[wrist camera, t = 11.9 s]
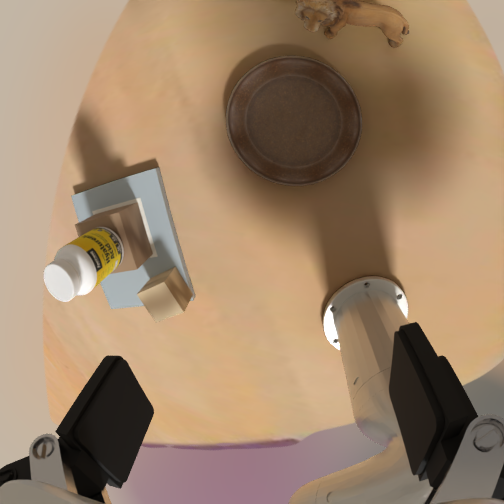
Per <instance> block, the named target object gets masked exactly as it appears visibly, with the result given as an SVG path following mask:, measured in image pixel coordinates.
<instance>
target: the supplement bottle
mask: <svg viewBox="0 0 504 504" xmlns="http://www.w3.org/2000/svg"><path fill="white" fill-rule="evenodd" d="M123 256H124V249H123V244H122V242H121V240H120V238H119V237H118V235H117V234H116V233H115V232H114V231H112V230H111V229H109V228H106V227H97V228H95V229H93V230H91V231H89V232H87V233H85V234H84V235H82V236H80V237H78V238H77V239H75V240H73V241H72V242H70V243H68V244H67V245H65V246H63V247H62V248H61V249H60V250H59V251H58V252H57V254H56V256H55V259H54V261H53V262H51V263H50V264H48V265H47V266H46V268H45V270H44V282H45V285H46V287H47V289H48V291H49V292H50V293H51V294H52V296H54V297H55V298H56V299H58V300H60V301H63V302H67V301H70V300H71V299H72V298H73V297H75V296H76V295H85V294H87V293H89V292H90V291H91V290H92V289H94V288H95V287H96V286H97V285H98V284H99V283H100V282H101V281H102V280H103V279H105V278H106V277H107V276H108V275H109V274H110V273H111V272H112V271H114V270H115V269H116V268H117V267H118V266H119V265H120V264H121V262H122V260H123Z"/></svg>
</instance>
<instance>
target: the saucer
mask: <svg viewBox="0 0 504 504" xmlns="http://www.w3.org/2000/svg"><path fill="white" fill-rule="evenodd" d="M226 126H227V133H228V137H229V140H230V142H231V145H232V147H233V148H234V150H235V152H236V153H237V155H238V156H239V158H240V159H241V160H242V161H243V163H244V164H245V165H246V166H247V167H248V168H250V169H251V170H252V171H253V172H255V173H256V174H257V175H259V176H261V177H263V178H265V179H267V180H269V181H271V182H274V183H278V184H282V185H288V186H304V185H310V184H314V183H318V182H321V181H323V180H325V179H327V178H329V177H331V176H333V175H334V174H336V173H337V172H338V171H339V170H341V169H342V168H343V167H344V166H345V165H346V164H347V162H348V161H349V160H350V158H351V157H352V156H353V154H354V152H355V150H356V148H357V146H358V143H359V140H360V137H361V131H362V116H361V110H360V106H359V103H358V100H357V98H356V95H355V93H354V92H353V90H352V88H351V87H350V85H349V84H348V83H347V82H346V80H345V79H344V78H343V77H342V76H341V75H340V74H339V73H338V72H336V71H335V70H334V69H332V68H331V67H329V66H328V65H326V64H324V63H322V62H320V61H317V60H314V59H311V58H307V57H302V56H281V57H276V58H272V59H269V60H266V61H264V62H262V63H260V64H258V65H256V66H255V67H253V68H252V69H250V70H249V71H248V72H247V73H246V74H245V75H244V76H243V77H242V78H241V79H240V80H239V81H238V83H237V84H236V86H235V87H234V89H233V91H232V93H231V96H230V98H229V101H228V105H227V111H226Z"/></svg>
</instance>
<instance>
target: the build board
mask: <svg viewBox="0 0 504 504" xmlns="http://www.w3.org/2000/svg"><path fill="white" fill-rule="evenodd" d="M71 197H72V200H73V204H74V207H75V211H76V214H77V217H78V221H79V222H81V221H83V220H85V219H87V218H89V217H91V216H93V215H95V214H98V213H101V212H104V211H108V210H111V209H115V208H118V207H122V206H126V205H129V204H133V203H137V202H138V205H139V209H140V212H141V216H142V219H143V222H144V226H145V229H146V233H147V236H148V239H149V242H150V246H151V249H152V252H153V254H152V255H151V256H150V257H149V258H148V259H147V260H146V261H145V262H144V263H143V264H142V265H141V266H140V267H139V268H138V269H137V270H131V271H125V272H119V273H113V274H109V275H108V276H107V277H106V278H105V279H103V280H102V281H101V282H100V283H101V286H102V288H103V291H104V293H105V296H106V298H107V300H108V303H109V305H110V307H111V309H116V308H127V307H137V306H144V305H143V303H142V302H141V300H140V299H139V297H138V296H137V293H138V292H139V291H140V290H141V289H142V287H143V286H144V285H145V284H146V283H147V281H148V280H149V279H150V278H152V277H154V276H156V275H158V274H160V273H163V272H165V271H167V270H169V269H171V268H173V267H175V266H176V267H177V269H178V271H179V272H180V274H181V276H182V277H183V279H184V281H185V282H186V284H187V285H188V287H189V289H190V290H191V292H192V293H193V296H192V298H191V300H190V301H193V300H194V298H195V293H194V290H193V287H192V284H191V280H190V277H189V274H188V271H187V267H186V264H185V261H184V257H183V254H182V251H181V247H180V244H179V240H178V237H177V233H176V230H175V226H174V222H173V219H172V215H171V211H170V208H169V204H168V200H167V196H166V192H165V189H164V185H163V181H162V177H161V173H160V168H159V167H158V168H155V169H151V170H148V171H144V172H141V173H138V174H134V175H131V176H128V177H125V178H122V179H119V180H115V181H112V182H109V183H106V184H103V185H100V186H98V187H95V188H92V189H89V190H86V191H83V192H81V193H78V194H75V195H73V196H71Z"/></svg>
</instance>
